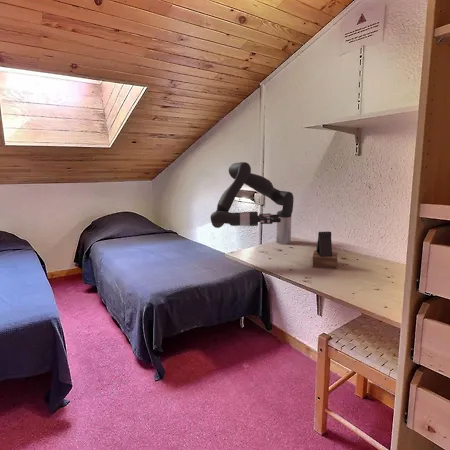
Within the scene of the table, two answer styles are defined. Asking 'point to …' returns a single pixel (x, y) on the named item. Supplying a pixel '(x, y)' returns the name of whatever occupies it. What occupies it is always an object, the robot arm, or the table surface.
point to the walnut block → (325, 261)
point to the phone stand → (324, 244)
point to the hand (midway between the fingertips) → (279, 218)
